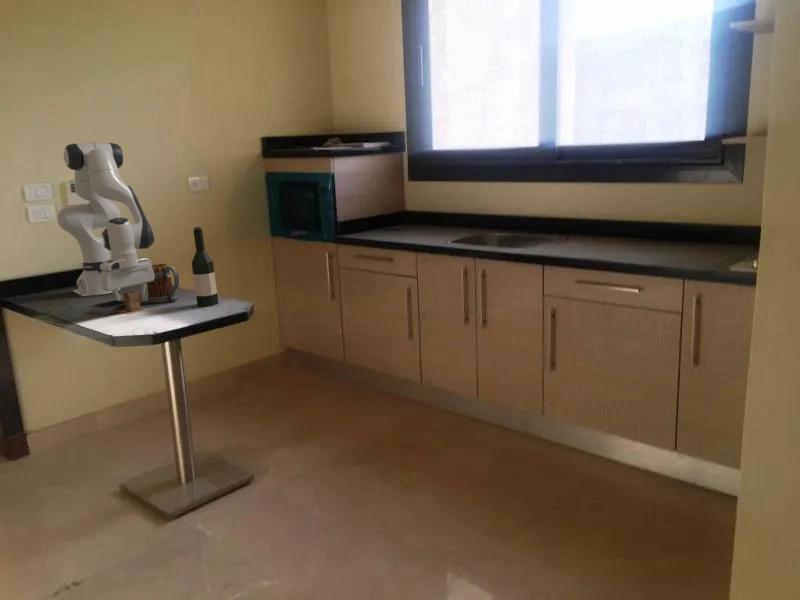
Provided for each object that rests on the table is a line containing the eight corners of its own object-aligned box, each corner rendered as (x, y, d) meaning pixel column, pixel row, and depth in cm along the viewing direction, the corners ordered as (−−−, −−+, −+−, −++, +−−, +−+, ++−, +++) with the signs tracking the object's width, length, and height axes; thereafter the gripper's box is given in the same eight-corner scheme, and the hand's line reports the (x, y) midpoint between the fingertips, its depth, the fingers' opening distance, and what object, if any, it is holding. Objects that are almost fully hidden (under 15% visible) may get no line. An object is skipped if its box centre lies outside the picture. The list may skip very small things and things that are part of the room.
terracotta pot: (120, 305, 268) (118, 296, 267) (134, 302, 272) (132, 293, 271) (128, 307, 264) (127, 297, 263) (142, 303, 269) (140, 294, 268)
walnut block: (125, 311, 255) (122, 293, 254) (135, 308, 258) (132, 290, 257) (131, 312, 253) (128, 294, 251) (141, 309, 256) (138, 291, 254)
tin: (91, 313, 258) (89, 305, 257) (117, 306, 266) (116, 299, 266) (105, 316, 251) (104, 308, 251) (132, 309, 260) (131, 302, 259)
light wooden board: (118, 313, 255) (118, 311, 255) (137, 308, 261) (137, 306, 261) (129, 315, 250) (129, 314, 250) (148, 310, 256) (148, 309, 256)
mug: (142, 304, 267) (136, 267, 264) (163, 298, 276) (157, 262, 273) (171, 306, 260) (165, 268, 257) (191, 300, 269) (185, 263, 266)
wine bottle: (221, 301, 264) (211, 225, 257) (215, 306, 255) (204, 227, 249) (200, 302, 264) (190, 226, 257) (193, 307, 256) (182, 229, 249)
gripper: (145, 256, 261) (151, 291, 264) (95, 266, 245) (101, 302, 249) (154, 257, 257) (160, 292, 260) (104, 267, 242) (110, 304, 245)
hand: (131, 297), depth 254 cm, fingers open, 8 cm apart
